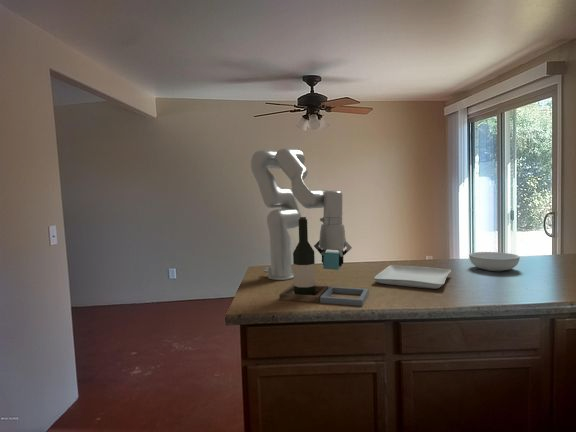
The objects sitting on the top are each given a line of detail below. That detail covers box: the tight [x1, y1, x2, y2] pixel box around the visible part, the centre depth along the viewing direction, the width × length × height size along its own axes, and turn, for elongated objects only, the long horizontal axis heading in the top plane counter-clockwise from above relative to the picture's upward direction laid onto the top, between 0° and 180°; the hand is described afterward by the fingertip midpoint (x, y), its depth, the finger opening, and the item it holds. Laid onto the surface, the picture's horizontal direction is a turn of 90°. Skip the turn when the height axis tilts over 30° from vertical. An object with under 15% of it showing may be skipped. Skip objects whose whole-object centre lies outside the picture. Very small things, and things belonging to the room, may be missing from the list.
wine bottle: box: [292, 216, 316, 296], centre depth 141 cm, size 8×8×30 cm
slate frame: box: [319, 285, 370, 307], centre depth 136 cm, size 15×15×2 cm
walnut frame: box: [279, 283, 330, 304], centre depth 142 cm, size 15×15×2 cm
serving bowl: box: [468, 251, 521, 272], centre depth 175 cm, size 21×21×7 cm
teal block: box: [322, 250, 341, 271], centre depth 151 cm, size 6×6×6 cm
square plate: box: [373, 264, 452, 290], centre depth 159 cm, size 27×27×4 cm
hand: (332, 264), depth 151 cm, fingers closed on teal block, 6 cm apart
